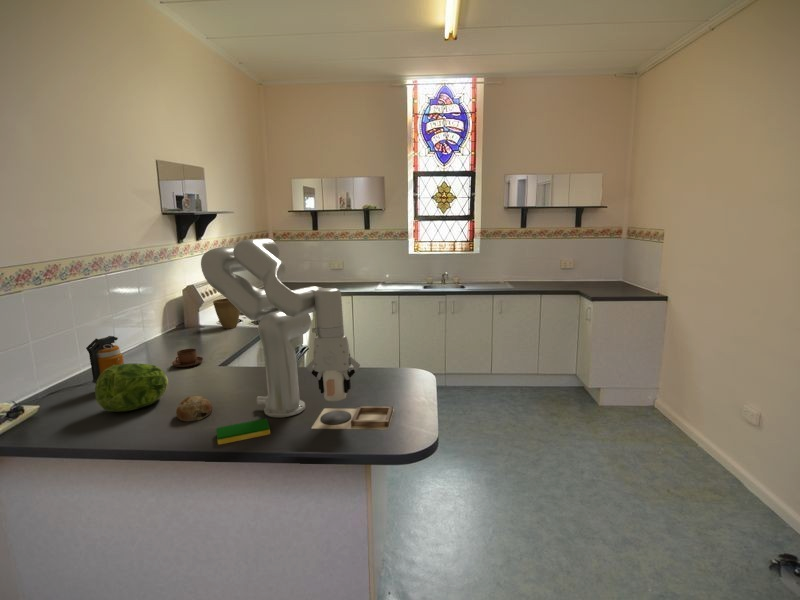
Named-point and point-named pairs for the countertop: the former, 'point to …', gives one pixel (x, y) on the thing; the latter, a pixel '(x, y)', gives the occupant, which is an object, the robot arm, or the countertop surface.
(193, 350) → the cup and saucer
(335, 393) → the jug
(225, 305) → the plant pot
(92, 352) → the canister
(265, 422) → the dish sponge
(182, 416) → the bread roll
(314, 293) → the robot arm
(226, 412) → the countertop surface
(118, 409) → the lettuce
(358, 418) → the jug stand
